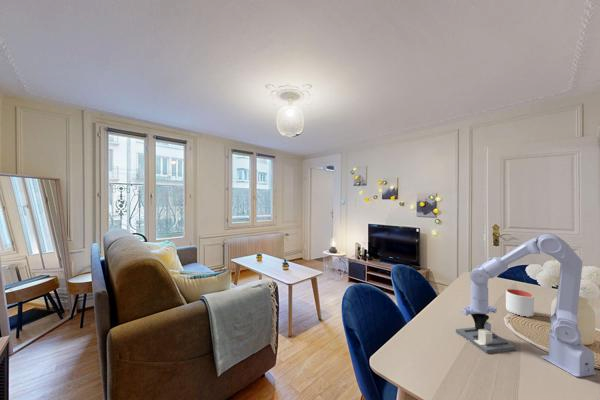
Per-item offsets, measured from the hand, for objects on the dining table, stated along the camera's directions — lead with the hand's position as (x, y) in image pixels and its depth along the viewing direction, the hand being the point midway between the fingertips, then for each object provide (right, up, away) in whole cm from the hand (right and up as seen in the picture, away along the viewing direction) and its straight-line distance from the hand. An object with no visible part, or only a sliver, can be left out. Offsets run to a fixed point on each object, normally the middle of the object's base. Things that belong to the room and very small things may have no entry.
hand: (479, 330), depth 94 cm
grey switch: (+2, -1, 0) cm, 3 cm away
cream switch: (-2, -1, -6) cm, 6 cm away
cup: (+35, -3, +19) cm, 40 cm away
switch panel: (0, -2, -3) cm, 4 cm away
